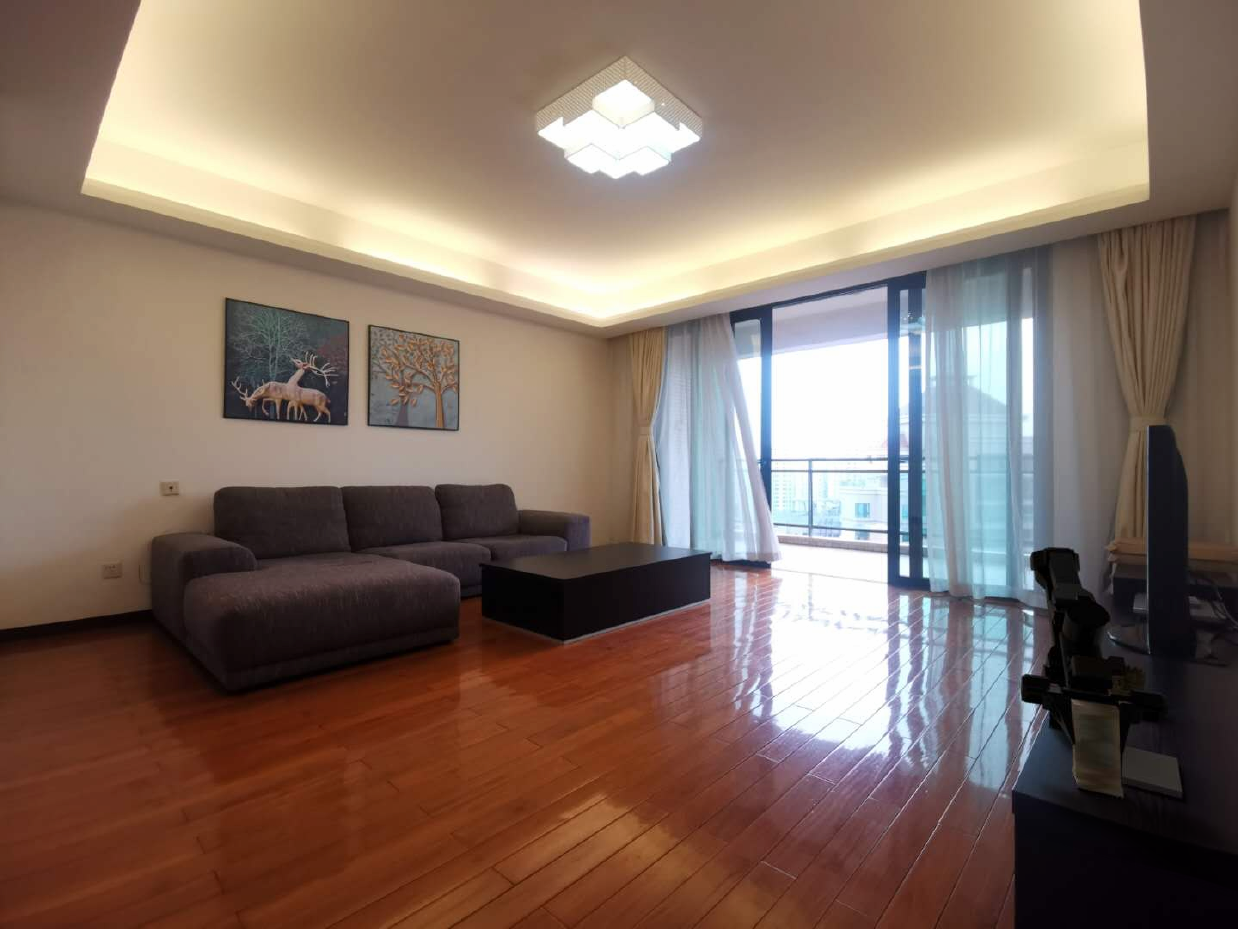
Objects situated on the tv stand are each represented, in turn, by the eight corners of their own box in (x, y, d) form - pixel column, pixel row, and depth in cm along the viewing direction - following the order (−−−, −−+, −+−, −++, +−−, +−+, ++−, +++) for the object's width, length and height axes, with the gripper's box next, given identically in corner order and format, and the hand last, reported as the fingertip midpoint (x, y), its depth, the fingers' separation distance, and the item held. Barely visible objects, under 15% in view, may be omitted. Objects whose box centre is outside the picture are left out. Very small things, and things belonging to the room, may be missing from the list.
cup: (1124, 696, 128) (1123, 661, 128) (1156, 710, 121) (1155, 672, 121) (1092, 697, 128) (1091, 661, 128) (1123, 711, 121) (1121, 673, 121)
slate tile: (1122, 783, 92) (1121, 776, 92) (1122, 752, 103) (1122, 745, 103) (1182, 800, 88) (1182, 792, 88) (1176, 765, 98) (1176, 758, 98)
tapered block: (1077, 788, 91) (1075, 707, 91) (1072, 774, 95) (1070, 696, 95) (1123, 798, 88) (1121, 714, 88) (1115, 783, 92) (1113, 703, 92)
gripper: (1020, 627, 100) (1028, 713, 90) (1162, 642, 90) (1188, 740, 81) (1017, 659, 107) (1024, 743, 97) (1150, 677, 97) (1172, 771, 87)
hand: (1097, 748), depth 90 cm, fingers closed on tapered block, 6 cm apart
